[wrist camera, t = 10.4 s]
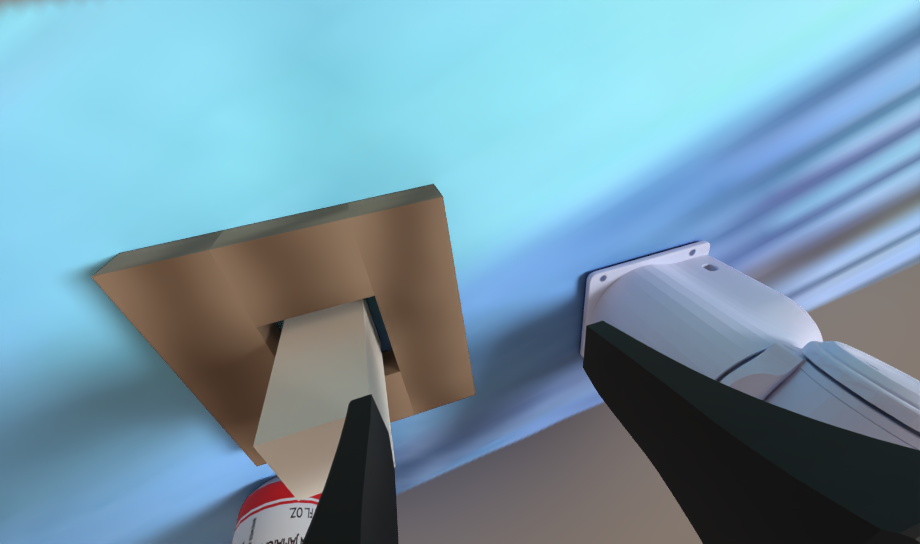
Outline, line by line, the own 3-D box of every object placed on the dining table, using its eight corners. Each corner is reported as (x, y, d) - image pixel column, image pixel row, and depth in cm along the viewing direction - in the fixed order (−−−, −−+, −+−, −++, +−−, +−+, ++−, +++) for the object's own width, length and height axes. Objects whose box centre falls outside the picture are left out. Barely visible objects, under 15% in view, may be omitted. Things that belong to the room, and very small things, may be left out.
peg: (362, 289, 19) (369, 409, 12) (380, 341, 21) (395, 467, 15) (287, 308, 18) (253, 446, 12) (314, 360, 20) (298, 500, 14)
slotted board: (433, 183, 17) (443, 196, 15) (467, 372, 25) (475, 394, 23) (120, 252, 15) (91, 276, 13) (263, 436, 22) (256, 466, 21)
